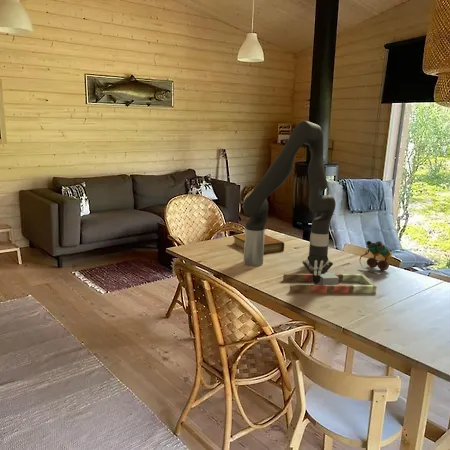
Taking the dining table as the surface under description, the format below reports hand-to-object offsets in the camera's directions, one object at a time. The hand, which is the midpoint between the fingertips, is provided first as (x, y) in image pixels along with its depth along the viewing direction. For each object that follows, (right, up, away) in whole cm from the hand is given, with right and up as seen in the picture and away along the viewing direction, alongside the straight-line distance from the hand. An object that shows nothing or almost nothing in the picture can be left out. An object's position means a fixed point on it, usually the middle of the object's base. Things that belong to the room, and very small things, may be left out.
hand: (315, 283), depth 187 cm
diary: (-20, +11, +57) cm, 62 cm away
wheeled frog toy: (+34, +3, +26) cm, 43 cm away
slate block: (+5, -1, +3) cm, 6 cm away
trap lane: (+6, -2, +1) cm, 6 cm away
